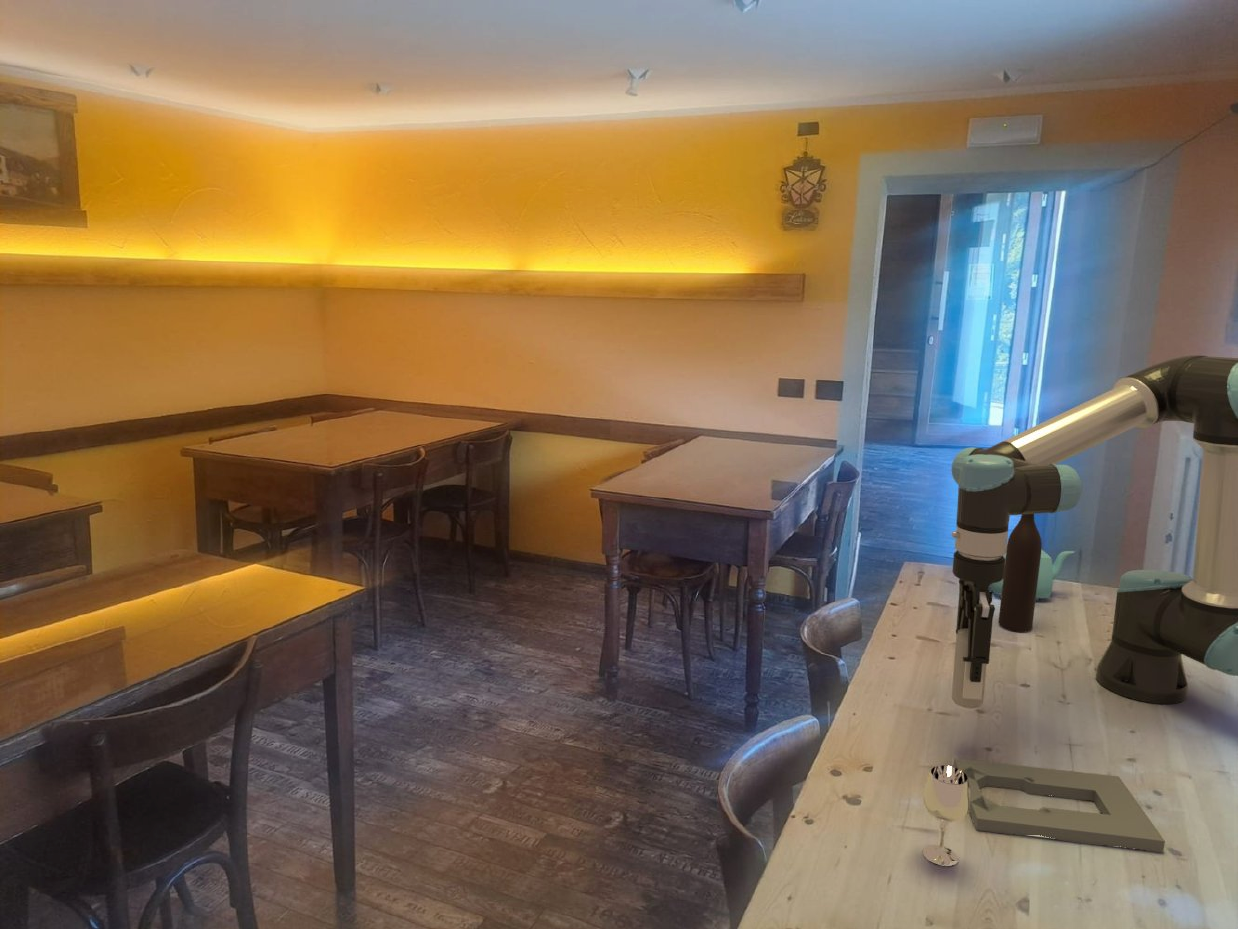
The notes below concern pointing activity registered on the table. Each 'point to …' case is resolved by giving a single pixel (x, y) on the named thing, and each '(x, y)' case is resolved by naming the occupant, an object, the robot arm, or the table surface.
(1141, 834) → the flat rectangular frame
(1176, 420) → the robot arm
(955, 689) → the beverage can
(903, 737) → the table surface
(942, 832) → the wineglass
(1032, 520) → the wine bottle
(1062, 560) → the teapot
